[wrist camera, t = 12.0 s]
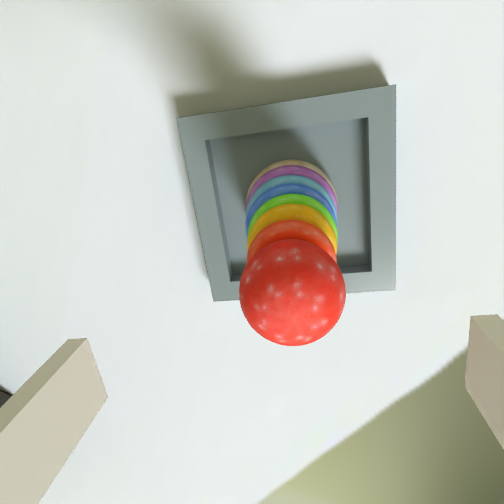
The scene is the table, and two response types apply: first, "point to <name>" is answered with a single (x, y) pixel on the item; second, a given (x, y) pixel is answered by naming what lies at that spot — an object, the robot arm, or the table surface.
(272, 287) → the stacking toy
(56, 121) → the table surface
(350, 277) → the gray square tray
